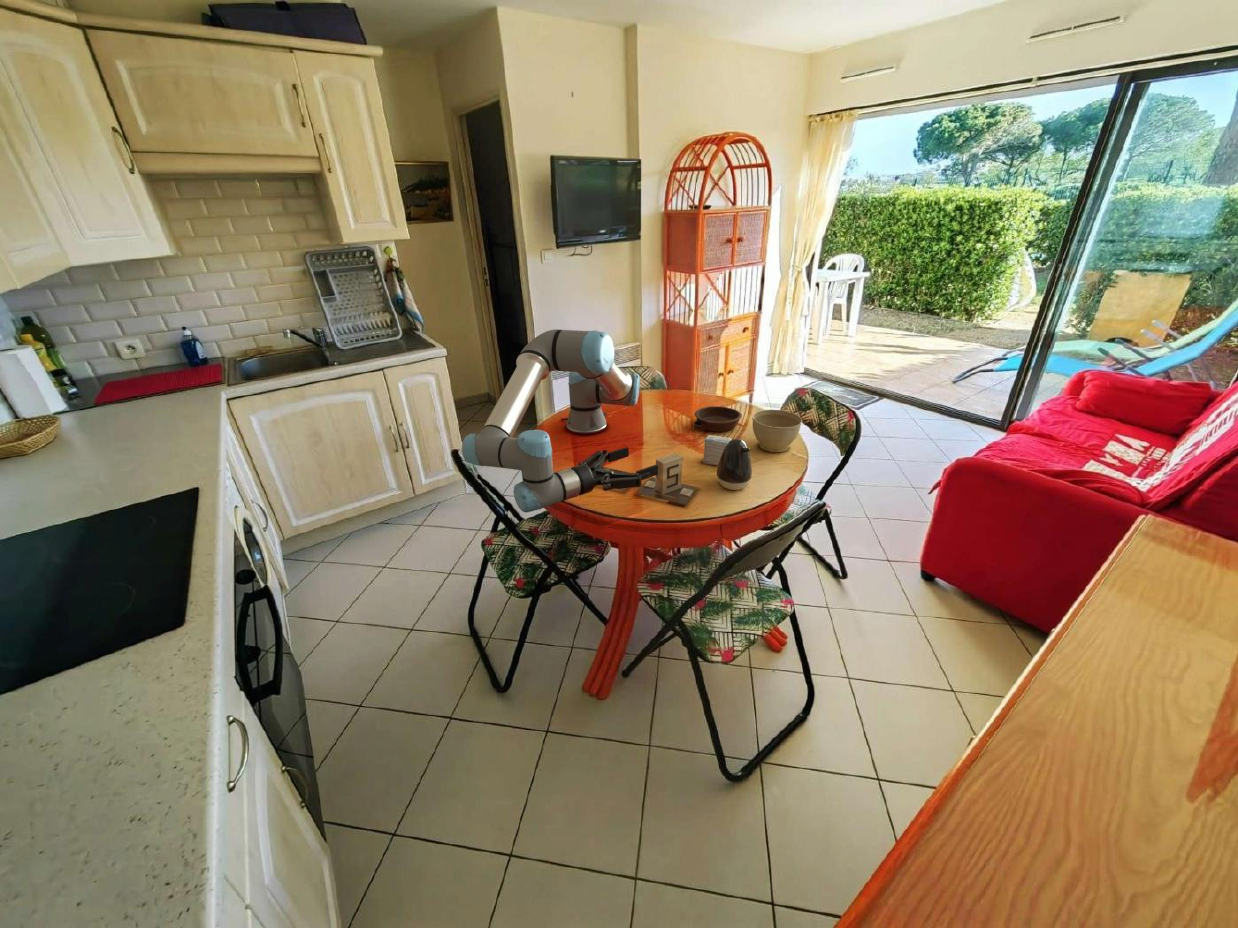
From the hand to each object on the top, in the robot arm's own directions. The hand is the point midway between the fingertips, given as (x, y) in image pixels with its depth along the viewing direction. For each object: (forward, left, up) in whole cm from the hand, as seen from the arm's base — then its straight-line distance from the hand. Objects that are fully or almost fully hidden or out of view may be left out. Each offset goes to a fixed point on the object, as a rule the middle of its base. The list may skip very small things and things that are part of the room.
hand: (642, 460), depth 140 cm
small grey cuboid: (+5, +8, -12) cm, 15 cm away
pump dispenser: (+21, +19, -13) cm, 32 cm away
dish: (+3, +63, -13) cm, 65 cm away
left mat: (-14, +7, -13) cm, 20 cm away
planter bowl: (+27, +52, -13) cm, 60 cm away
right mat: (+5, +7, -13) cm, 16 cm away
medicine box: (+12, +32, -13) cm, 37 cm away
